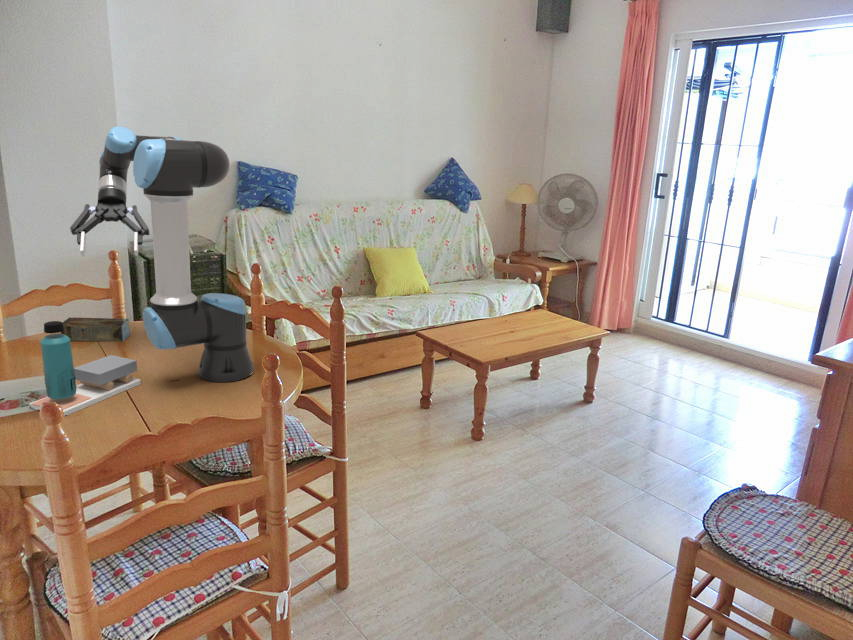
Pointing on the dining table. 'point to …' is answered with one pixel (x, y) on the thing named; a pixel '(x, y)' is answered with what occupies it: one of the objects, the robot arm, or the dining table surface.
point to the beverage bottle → (58, 362)
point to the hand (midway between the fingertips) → (109, 253)
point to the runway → (91, 394)
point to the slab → (105, 370)
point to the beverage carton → (96, 329)
